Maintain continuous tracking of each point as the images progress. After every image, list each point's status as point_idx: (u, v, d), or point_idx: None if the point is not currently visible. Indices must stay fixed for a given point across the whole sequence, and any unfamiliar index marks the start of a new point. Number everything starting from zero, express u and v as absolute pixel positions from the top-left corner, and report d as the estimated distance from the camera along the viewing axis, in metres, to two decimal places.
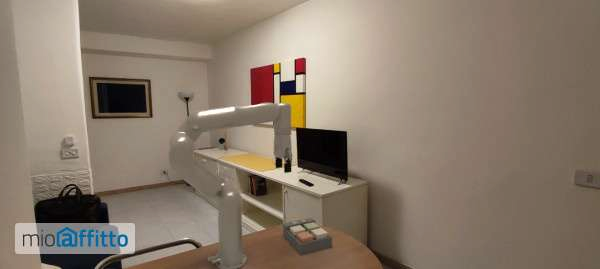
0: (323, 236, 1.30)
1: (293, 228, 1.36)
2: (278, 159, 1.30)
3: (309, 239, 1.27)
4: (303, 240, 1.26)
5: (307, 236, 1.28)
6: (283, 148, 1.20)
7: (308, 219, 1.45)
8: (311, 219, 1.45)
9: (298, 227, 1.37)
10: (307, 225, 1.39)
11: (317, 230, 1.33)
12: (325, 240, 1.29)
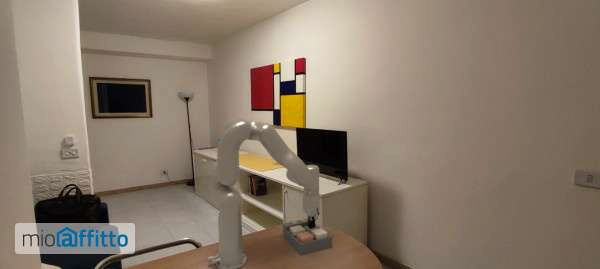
0: (323, 236, 1.30)
1: (293, 228, 1.36)
2: None
3: (309, 239, 1.27)
4: (303, 240, 1.26)
5: (307, 236, 1.28)
6: (313, 208, 1.33)
7: (308, 219, 1.45)
8: None
9: (298, 227, 1.37)
10: (307, 227, 1.39)
11: (317, 230, 1.33)
12: (325, 240, 1.29)
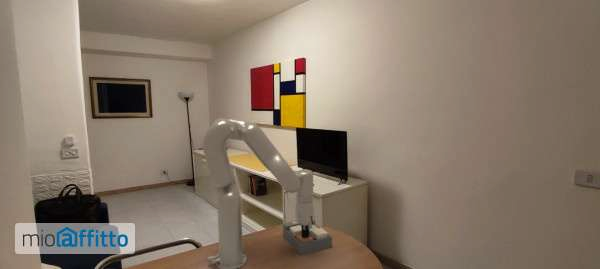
0: (323, 236, 1.30)
1: (293, 228, 1.36)
2: None
3: None
4: None
5: (307, 238, 1.28)
6: (306, 217, 1.23)
7: None
8: None
9: (298, 227, 1.37)
10: None
11: (317, 230, 1.33)
12: (325, 240, 1.29)
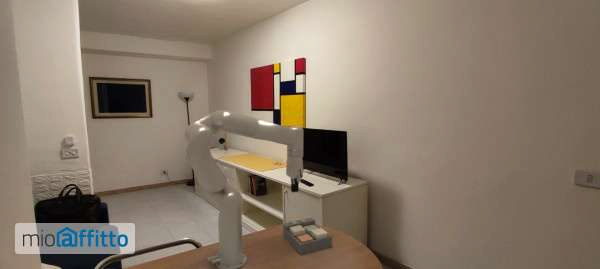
0: (323, 236, 1.30)
1: (293, 228, 1.36)
2: None
3: None
4: None
5: (307, 239, 1.28)
6: (295, 170, 1.28)
7: (308, 219, 1.45)
8: (311, 219, 1.45)
9: (298, 227, 1.37)
10: (307, 227, 1.39)
11: (317, 230, 1.33)
12: (325, 240, 1.29)
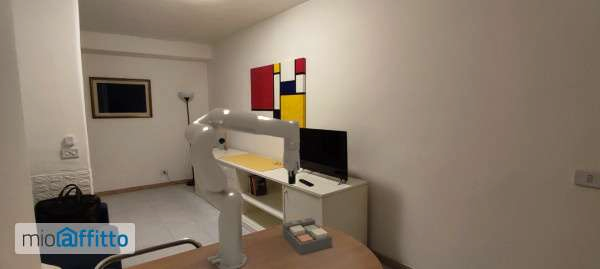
0: (323, 236, 1.30)
1: (293, 228, 1.36)
2: None
3: None
4: None
5: (307, 239, 1.28)
6: (292, 162, 1.31)
7: (308, 219, 1.45)
8: (311, 219, 1.45)
9: (298, 227, 1.37)
10: (307, 227, 1.39)
11: (317, 230, 1.33)
12: (325, 240, 1.29)
